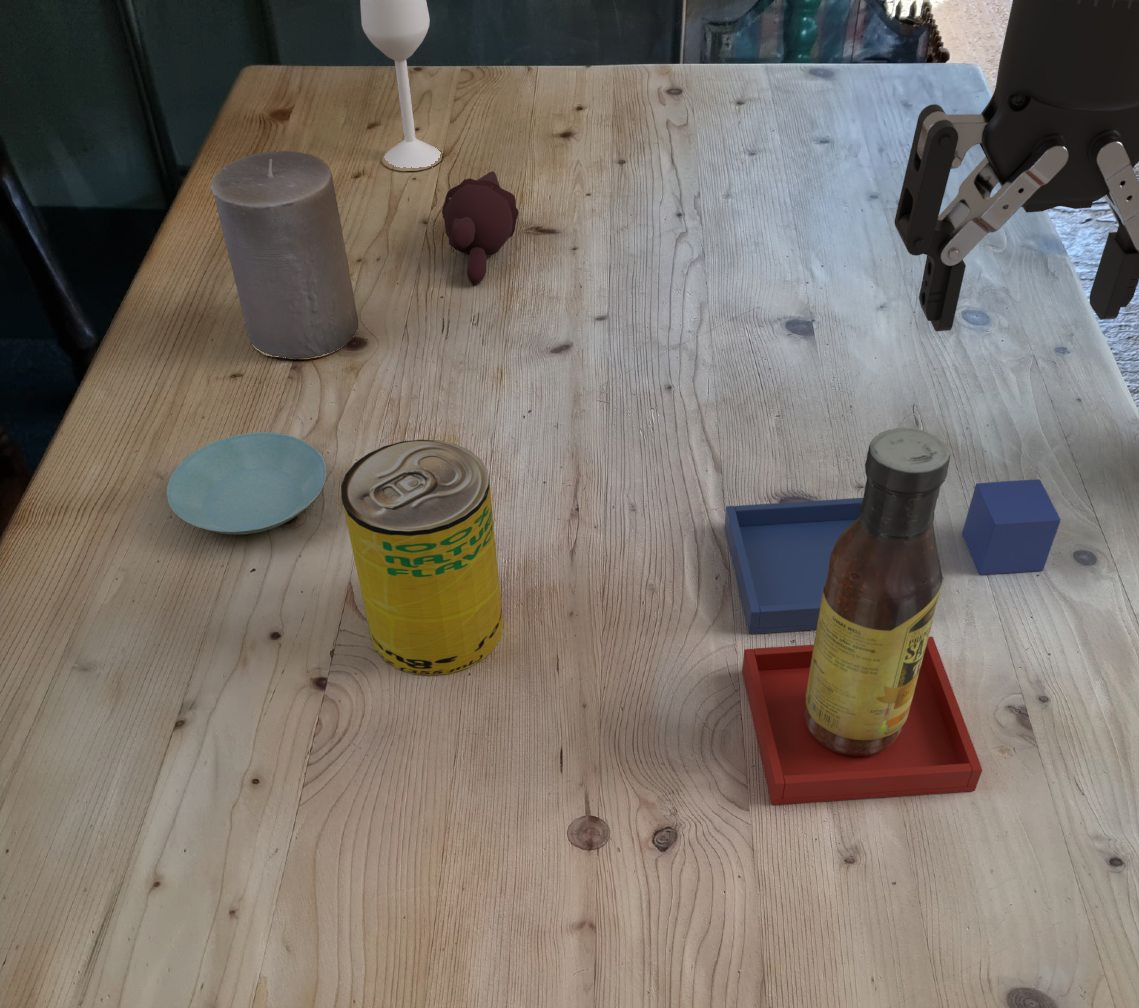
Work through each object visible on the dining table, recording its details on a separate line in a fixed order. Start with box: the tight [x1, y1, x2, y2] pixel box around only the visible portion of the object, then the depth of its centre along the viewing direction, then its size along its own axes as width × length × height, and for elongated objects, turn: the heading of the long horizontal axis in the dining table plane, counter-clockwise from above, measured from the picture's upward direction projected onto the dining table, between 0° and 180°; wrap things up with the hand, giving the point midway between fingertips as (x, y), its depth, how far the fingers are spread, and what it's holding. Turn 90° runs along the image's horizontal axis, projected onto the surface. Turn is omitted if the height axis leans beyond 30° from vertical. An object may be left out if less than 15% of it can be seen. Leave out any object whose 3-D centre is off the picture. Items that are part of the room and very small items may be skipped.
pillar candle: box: [209, 150, 359, 360], centre depth 102 cm, size 10×10×15 cm
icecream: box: [441, 171, 520, 286], centre depth 114 cm, size 7×7×15 cm
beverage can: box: [340, 439, 504, 677], centre depth 78 cm, size 9×9×12 cm
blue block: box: [961, 478, 1061, 576], centre depth 84 cm, size 4×4×4 cm
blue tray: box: [723, 497, 863, 635], centre depth 84 cm, size 12×11×2 cm
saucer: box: [166, 431, 327, 536], centre depth 91 cm, size 12×12×2 cm
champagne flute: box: [359, 0, 441, 168], centre depth 121 cm, size 7×7×24 cm
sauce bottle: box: [805, 427, 951, 756], centre depth 68 cm, size 6×6×20 cm
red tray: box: [741, 636, 983, 806], centre depth 75 cm, size 12×11×2 cm
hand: (1020, 317), depth 63 cm, fingers open, 8 cm apart
